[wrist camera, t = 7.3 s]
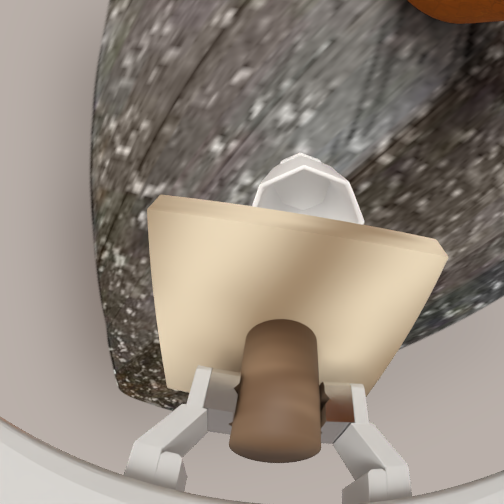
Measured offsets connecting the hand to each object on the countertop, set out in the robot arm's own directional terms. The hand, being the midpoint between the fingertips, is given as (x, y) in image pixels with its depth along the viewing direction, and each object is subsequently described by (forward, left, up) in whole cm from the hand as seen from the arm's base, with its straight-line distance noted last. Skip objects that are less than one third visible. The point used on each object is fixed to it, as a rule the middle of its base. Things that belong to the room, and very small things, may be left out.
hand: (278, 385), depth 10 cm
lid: (0, 0, -3) cm, 3 cm away
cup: (0, 0, -18) cm, 18 cm away
